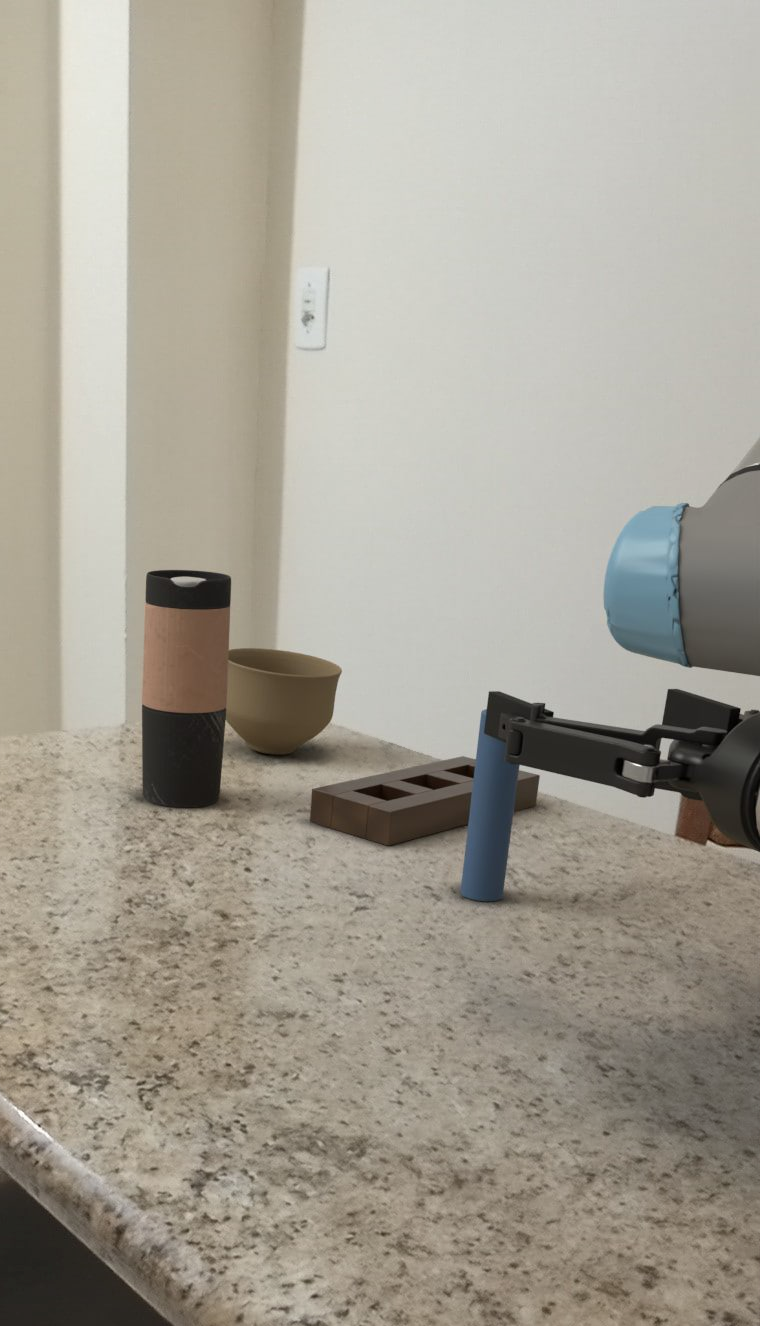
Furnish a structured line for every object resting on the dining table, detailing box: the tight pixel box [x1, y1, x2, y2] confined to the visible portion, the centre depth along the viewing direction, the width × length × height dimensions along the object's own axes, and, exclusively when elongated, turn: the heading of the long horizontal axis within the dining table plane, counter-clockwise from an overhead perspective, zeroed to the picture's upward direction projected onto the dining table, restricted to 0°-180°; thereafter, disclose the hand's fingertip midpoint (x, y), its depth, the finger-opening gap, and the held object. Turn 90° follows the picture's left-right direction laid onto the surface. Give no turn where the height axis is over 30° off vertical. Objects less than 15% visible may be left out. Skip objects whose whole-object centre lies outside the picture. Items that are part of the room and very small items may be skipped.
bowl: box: [225, 647, 343, 756], centre depth 144 cm, size 13×13×10 cm
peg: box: [459, 708, 521, 902], centre depth 102 cm, size 3×3×14 cm
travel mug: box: [141, 569, 232, 808], centre depth 124 cm, size 8×8×20 cm
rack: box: [309, 755, 541, 846], centre depth 125 cm, size 9×22×3 cm, turn 134°
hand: (582, 710), depth 90 cm, fingers open, 13 cm apart
